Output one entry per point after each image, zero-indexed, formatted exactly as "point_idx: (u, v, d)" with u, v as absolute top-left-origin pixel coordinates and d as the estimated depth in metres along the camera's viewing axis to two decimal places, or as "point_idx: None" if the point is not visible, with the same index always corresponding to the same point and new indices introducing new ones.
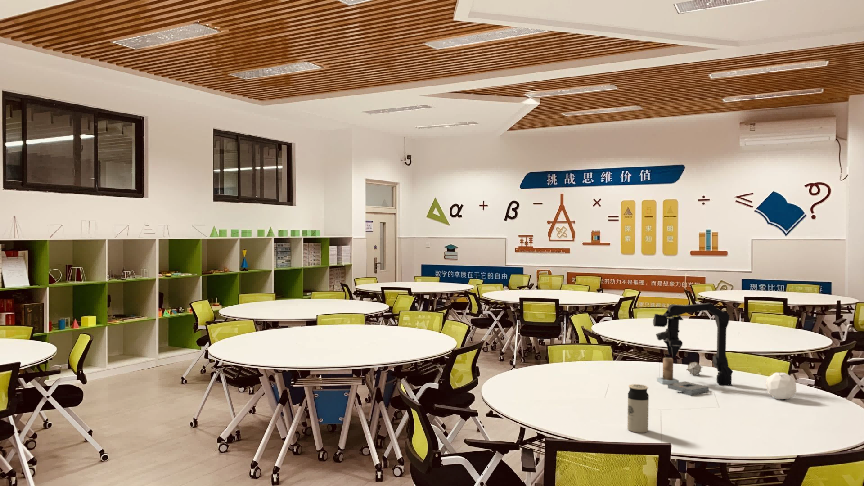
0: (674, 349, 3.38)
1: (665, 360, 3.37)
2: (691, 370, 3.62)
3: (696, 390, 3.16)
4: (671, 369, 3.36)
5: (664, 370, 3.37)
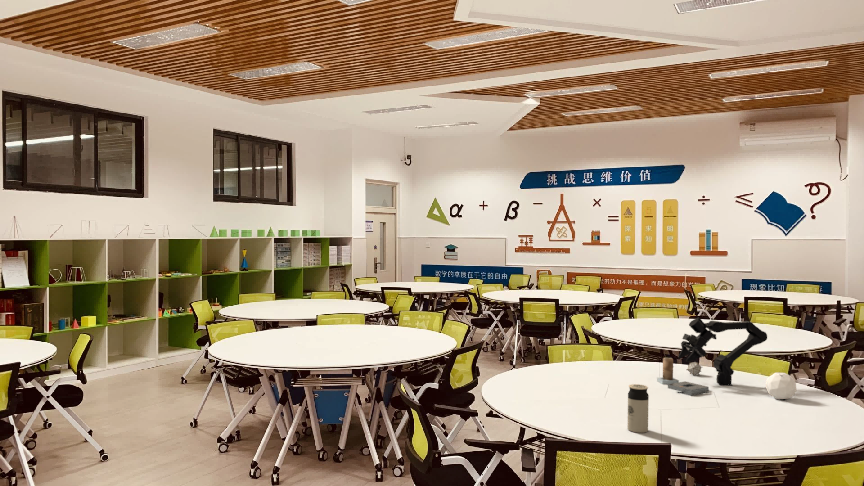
0: (693, 355, 3.33)
1: (665, 360, 3.37)
2: (691, 370, 3.62)
3: (696, 390, 3.16)
4: (671, 369, 3.36)
5: (664, 370, 3.37)
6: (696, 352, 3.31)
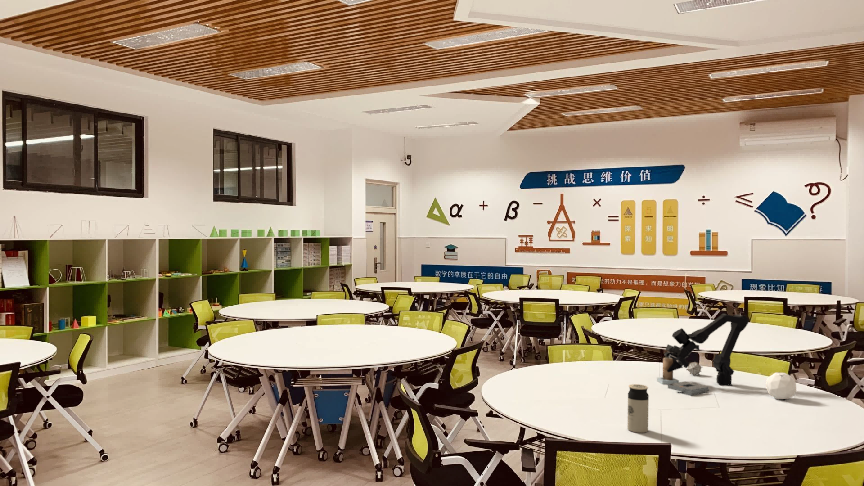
0: (674, 365, 3.35)
1: (665, 360, 3.37)
2: (691, 370, 3.62)
3: (696, 390, 3.16)
4: None
5: (664, 370, 3.37)
6: (677, 362, 3.33)
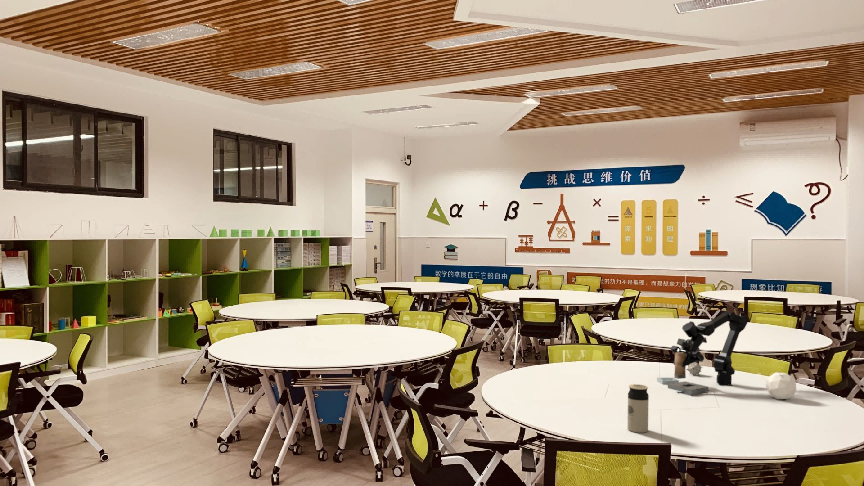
0: (688, 360, 3.25)
1: (679, 355, 3.26)
2: (691, 370, 3.62)
3: (696, 390, 3.16)
4: None
5: (678, 365, 3.26)
6: (692, 357, 3.23)
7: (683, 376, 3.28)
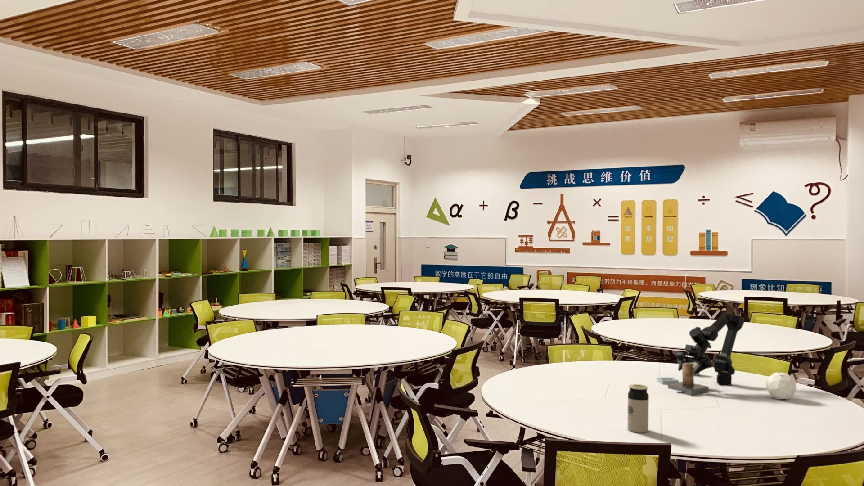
0: (700, 367, 3.20)
1: (687, 366, 3.21)
2: None
3: (696, 390, 3.16)
4: None
5: (686, 377, 3.21)
6: (705, 363, 3.18)
7: None
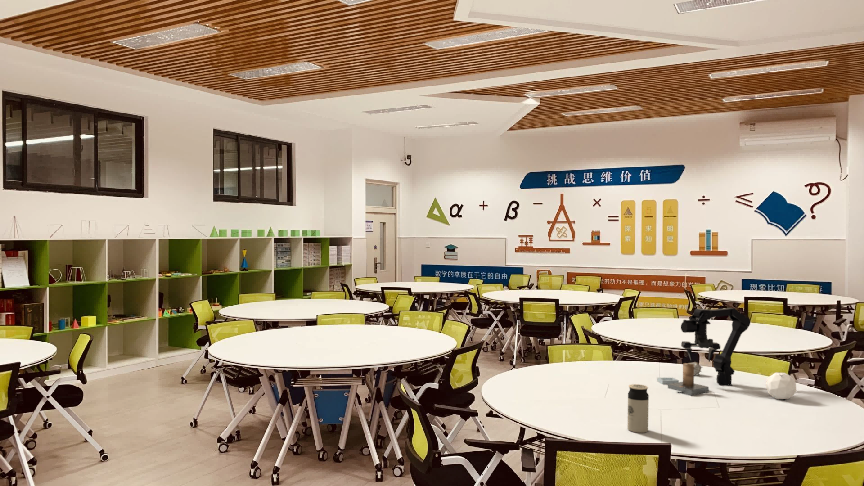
0: None
1: (688, 366, 3.21)
2: None
3: (696, 390, 3.16)
4: (693, 375, 3.22)
5: (687, 377, 3.22)
6: (716, 350, 3.35)
7: None
